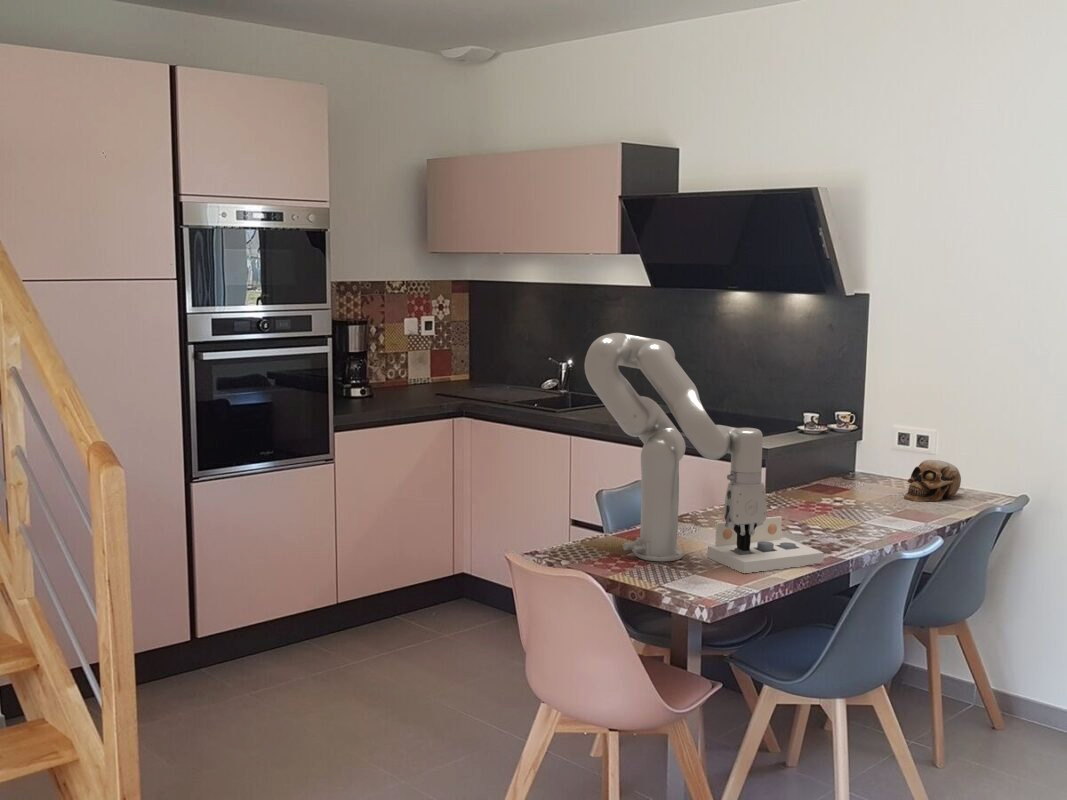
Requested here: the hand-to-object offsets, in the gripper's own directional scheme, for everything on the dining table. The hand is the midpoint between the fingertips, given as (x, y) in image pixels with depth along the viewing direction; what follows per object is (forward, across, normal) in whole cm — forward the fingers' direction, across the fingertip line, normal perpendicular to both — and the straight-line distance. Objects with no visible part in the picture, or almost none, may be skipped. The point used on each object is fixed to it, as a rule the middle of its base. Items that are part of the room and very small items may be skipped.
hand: (743, 549), depth 269 cm
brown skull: (+4, +104, +42) cm, 112 cm away
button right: (+3, +14, 0) cm, 14 cm away
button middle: (+2, +7, 0) cm, 7 cm away
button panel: (+4, +7, 0) cm, 8 cm away
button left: (+3, 0, 0) cm, 3 cm away
